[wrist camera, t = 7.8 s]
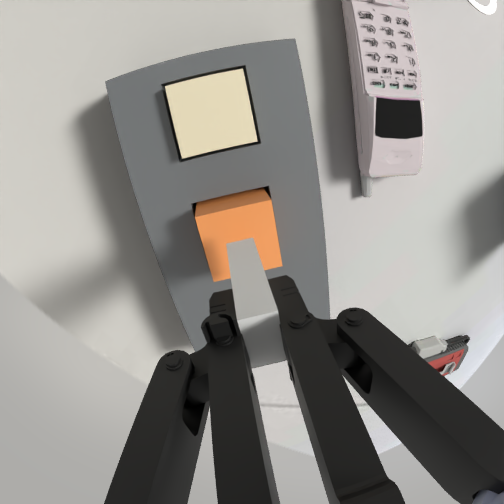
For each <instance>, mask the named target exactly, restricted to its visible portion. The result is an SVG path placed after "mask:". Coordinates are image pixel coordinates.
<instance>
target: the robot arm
mask: <svg viewBox="0 0 504 504" xmlns="http://www.w3.org/2000/svg"><path fill="white" fill-rule="evenodd" d="M226 247H227V254H228V261H229V269H230V276H231V283H232V289H228V290H223V291H219V292H214V293H213V294H212V296H211V298H210V299H209V308H210V309H209V312H210V316H208V317H207V318H205V320H204V321H203V322H202V324H201V329H202V332H203V334H204V337H205V339H206V342H207V344H206V345H205V346H204V347H203V348H202V349H200V350H198V351H197V352H194V353H192V354H190V355H189V354H188V353H186V352H185V351H181V350H176V351H171V352H169V353H166V354H165V355H164V356H163V357H161V359H160V360H159V362H158V364H157V366H156V368H155V371H154V373H153V376H152V378H151V381H150V383H149V385H148V388H147V390H146V393H145V395H144V398H143V400H142V403H141V405H140V408H139V411H138V413H137V415H136V418H135V421H134V423H133V426H132V429H131V431H130V434H129V436H128V439H127V442H126V444H125V447H124V450H123V452H122V455H121V457H120V460H119V463H118V466H117V469H116V471H115V474H114V477H113V480H112V483H111V485H110V488H109V491H108V494H107V497H106V500H105V503H104V504H187V503H188V498H189V494H190V489H191V485H192V481H193V476H194V472H195V468H196V463H197V459H198V455H199V450H200V446H201V442H202V437H203V433H204V428H205V424H206V420H207V416H208V411H209V407H210V415H211V430H212V444H213V456H214V467H215V478H216V489H217V498H218V504H280V501H279V497H278V492H277V488H276V483H275V478H274V473H273V469H272V464H271V460H270V455H269V450H268V445H267V440H266V435H265V430H264V425H263V420H262V415H261V410H260V405H259V400H258V395H257V390H256V385H255V380H254V376H253V373H252V369H251V368H256V367H261V366H265V365H269V364H273V363H277V362H281V361H285V360H287V361H288V367H289V373H290V379H291V381H293V385H294V388H295V391H296V395H297V398H298V401H299V405H300V408H301V411H302V414H303V418H304V421H305V424H306V428H307V431H308V434H309V438H310V441H311V444H312V448H313V451H314V454H315V458H316V461H317V464H318V467H319V471H320V474H321V477H322V481H323V484H324V487H325V491H326V494H327V497H328V501H329V504H405V502H404V499H403V497H402V494H401V492H400V490H399V488H398V486H397V485H396V484H395V482H393V481H392V480H390V479H389V478H388V477H387V475H386V473H385V471H384V469H383V466H382V464H381V461H380V459H379V457H378V454H377V452H376V450H375V447H374V445H373V443H372V440H371V438H370V436H369V434H368V431H367V429H366V427H365V424H364V422H363V420H362V418H361V415H360V413H359V411H358V409H357V406H356V404H355V402H354V400H353V398H352V395H351V393H350V391H349V389H348V387H347V384H346V382H345V380H344V378H343V376H344V377H345V378H346V380H347V381H348V382H349V383H350V384H351V385H352V386H353V388H354V389H355V390H356V391H357V392H358V393H359V394H360V396H361V397H362V398H363V399H364V400H365V401H366V402H367V404H368V405H369V406H370V407H371V408H372V409H373V410H374V412H375V413H376V414H377V415H378V416H379V417H380V418H381V419H382V421H383V422H384V423H385V424H386V425H387V426H388V427H389V429H390V430H391V431H392V432H393V433H394V434H395V435H396V436H397V438H398V439H399V440H400V441H401V442H402V443H403V444H404V445H405V446H406V448H407V449H408V450H409V451H410V452H411V453H412V454H413V455H414V457H415V458H416V459H417V460H418V461H419V462H420V463H421V464H422V466H423V467H424V468H425V469H426V470H427V471H428V472H429V473H430V474H431V476H432V477H433V478H434V479H435V480H436V481H437V482H438V483H439V484H440V485H441V487H442V488H443V489H444V490H445V491H446V492H447V493H448V494H449V495H450V496H452V498H454V499H455V500H456V501H458V502H459V503H461V504H504V430H503V429H502V428H500V427H499V426H498V425H497V424H496V423H495V422H494V421H493V420H492V419H491V418H490V417H489V416H487V415H486V414H485V413H484V412H483V411H482V410H481V409H480V408H479V407H478V406H476V405H475V404H474V403H473V402H472V401H471V400H470V399H469V398H468V397H466V396H465V395H464V394H463V393H462V392H461V391H460V390H459V389H457V388H456V387H455V386H454V385H453V384H452V383H451V382H450V381H448V380H447V379H446V378H445V377H444V376H443V375H442V374H440V373H439V372H438V371H437V370H436V369H435V368H433V367H432V366H431V365H430V364H429V363H428V362H427V361H425V360H424V359H423V358H422V357H421V356H420V355H418V354H417V353H416V352H415V351H414V350H413V349H411V348H410V347H409V346H408V345H407V344H406V343H404V342H403V341H402V340H401V339H400V338H398V337H397V336H396V335H395V334H394V333H393V332H391V331H390V330H389V329H388V328H387V327H385V326H384V325H383V324H382V323H381V322H379V321H378V320H377V319H376V318H375V317H373V316H372V315H371V314H370V313H369V312H367V311H365V310H364V309H360V308H349V309H346V310H343V311H342V312H341V313H339V315H338V317H337V319H329V320H327V319H319V318H316V317H314V315H313V314H312V313H310V312H309V311H308V309H307V307H306V305H305V303H304V301H303V299H302V297H301V294H300V292H299V290H298V288H297V286H296V284H295V282H294V280H293V279H292V278H290V277H289V276H287V275H284V276H279V277H275V278H271V279H267V277H266V274H265V271H264V268H263V265H262V262H261V259H260V256H259V253H258V251H257V248H256V245H255V242H254V239H253V238H248V239H244V240H240V241H235V242H231V243H227V244H226ZM342 375H343V376H342Z"/></svg>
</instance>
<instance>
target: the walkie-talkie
mask: <svg viewBox="0 0 504 504" xmlns="http://www.w3.org/2000/svg"><path fill="white" fill-rule="evenodd" d="M463 340H464V341H463ZM469 340H470V337H468V335H465V336H462V337H460V336H458V337H454V338H452V339H449V340H446V341H445V340H440V339H438V338H437V337H435V336H433V337H429V338H426V339H423V340H417V341H414V343H413V345H412V347H411V349H413V350H414V351H415V352H416V353H417V354H418V355H420V356H421V357H422V358H423V359H424V360H425V361H427V362H428V363H429V364H430V365H431V366H432V367H433V368H435V369H436V370H437V371H438V372H439V373H440V374H442V375H443V376H445V375H447V374H451V373H452V372H453V371H455V370H457V369H458V368H459V366H460V365H461V363H462V361H463V359H464V357H465V355H466V353H467V352H468V346H467V345H466V344H467V343H468V341H469Z"/></svg>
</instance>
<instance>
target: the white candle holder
mask: <svg viewBox="0 0 504 504" xmlns="http://www.w3.org/2000/svg"><path fill="white" fill-rule="evenodd" d="M468 1H469V2H470V3H471V4H472V5H473V6H474V7H475V8H476V9H477V10H479V11H480V12H482V13H484V14H487V15H490V14H493V13H494V12H495V10H496V0H490V4H489V5H488V6H482V5H480V4H478V3H477V2H476V1H475V0H468Z"/></svg>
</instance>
